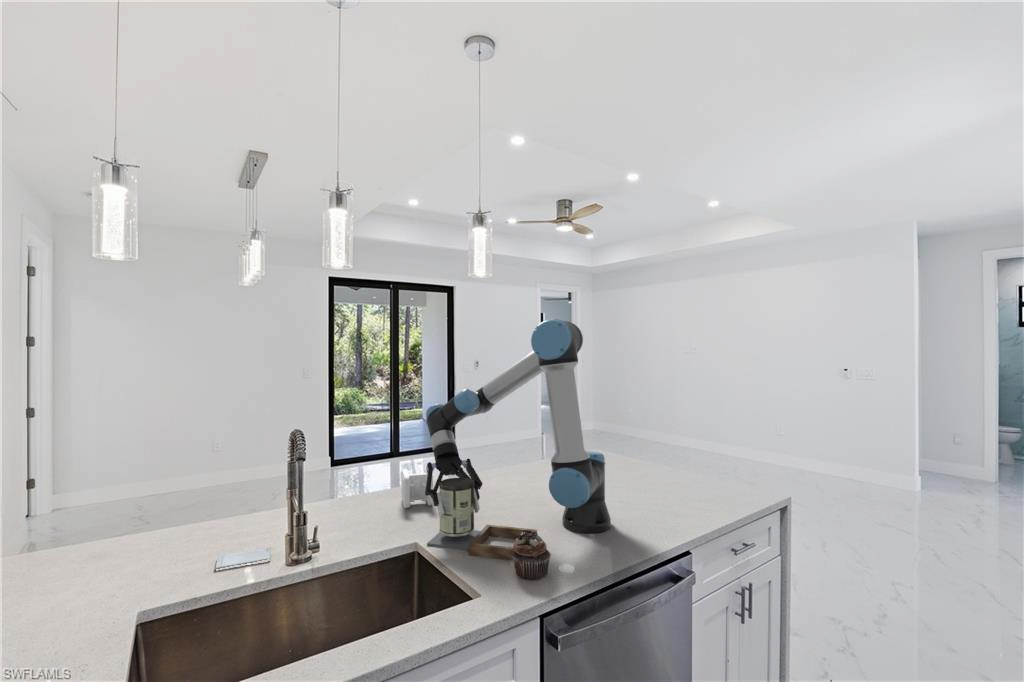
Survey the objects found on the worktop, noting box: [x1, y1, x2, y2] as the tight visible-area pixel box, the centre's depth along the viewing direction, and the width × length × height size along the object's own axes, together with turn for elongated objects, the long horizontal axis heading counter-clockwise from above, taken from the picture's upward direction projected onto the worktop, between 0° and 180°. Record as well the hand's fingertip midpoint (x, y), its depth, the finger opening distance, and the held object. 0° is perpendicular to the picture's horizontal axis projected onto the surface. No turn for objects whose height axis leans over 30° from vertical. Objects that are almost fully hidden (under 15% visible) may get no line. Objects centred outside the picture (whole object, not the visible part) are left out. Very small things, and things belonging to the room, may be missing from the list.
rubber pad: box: [426, 529, 481, 551], centre depth 142 cm, size 13×13×1 cm
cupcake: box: [512, 530, 551, 581], centre depth 120 cm, size 10×10×10 cm
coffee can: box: [438, 477, 475, 537], centre depth 142 cm, size 10×10×14 cm
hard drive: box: [214, 547, 271, 571], centre depth 128 cm, size 2×8×12 cm
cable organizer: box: [400, 466, 434, 509], centre depth 175 cm, size 15×11×12 cm
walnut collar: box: [467, 524, 538, 562], centre depth 136 cm, size 15×15×3 cm
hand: (459, 513), depth 139 cm, fingers closed on coffee can, 10 cm apart
